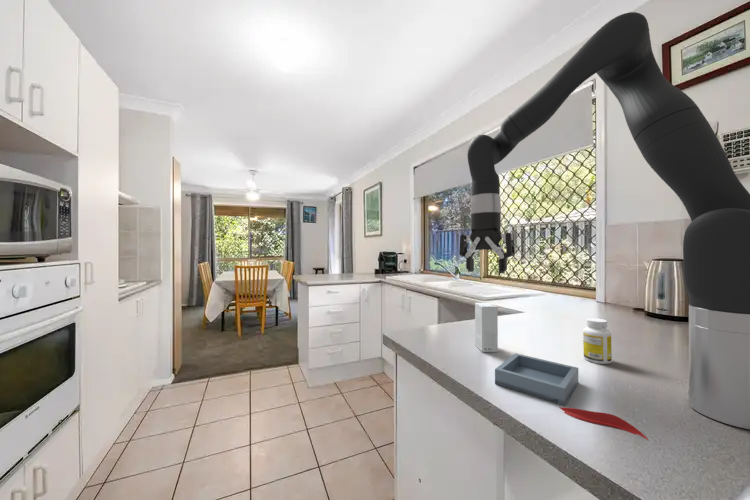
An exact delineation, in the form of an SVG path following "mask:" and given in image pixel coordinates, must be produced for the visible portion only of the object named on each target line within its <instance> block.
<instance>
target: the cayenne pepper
mask: <svg viewBox="0 0 750 500" xmlns="http://www.w3.org/2000/svg"><path fill="white" fill-rule="evenodd" d="M558 408H559V409H561V410H562V411H563V414H566V415H568V416H570V417H571V418H574V419H578V420H580V421H584V422H587V423H591V424H594V425H595V424H596V425H600V426H605V427H609V428H613V429H614V428H615V429H619V430H621V431H622V430H623V431H624V432H628V433H631V434H634V435H639V436H640V437H642V438H644V439H646V440H647V441H649V439H648V437H646V435H645V434H644V433H642V432H641V431H640V430H639V429H638V428H637V427H635V426H633V425H632V424H631V423H629V422H627V421H626V420H624V419H623V418H622V417H620V416H619V417H618V416H616V415H614V414H611V413H606V412H599V411H598V412H597V411H591V410H587V409H580V408H573V407H562V406H561V407H558Z"/></svg>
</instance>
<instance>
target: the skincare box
mask: <svg viewBox="0 0 750 500" xmlns="http://www.w3.org/2000/svg"><path fill="white" fill-rule="evenodd" d="M498 310H499V309H498V306H497V305H494V304H492V303H490V302H475V303H474V323H475V324H474V345H475V347H477V348H478V349H479V351H480V352H482V353H498V348H499V346H498V345H499V344H498V342H499V337H498V333H499V332H498V331H499V330H498V329H499V328H498V327H499V326H498V325H499V324H498V322H499V321H498V320H499V319H498V316H499V315H498V314H499V313H498Z"/></svg>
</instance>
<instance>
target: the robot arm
mask: <svg viewBox="0 0 750 500" xmlns="http://www.w3.org/2000/svg"><path fill="white" fill-rule="evenodd" d="M595 74H597V76H598V77H599V78H600V79H601V80H602V82H603V83H604V84H605V85H606V86H607V87H608V88H609V90H610V92H612V95H614V97H615V99H617V101H618V103H619V105H620V107H621V109H622V112H623V115H624V118H625V122H626V124H627V127H628V130H629V131H630V135H631V136H632V139H633V141H634V143H635V144H636V146H637V148H638V150H639V152H640V153H641V155H642V157H643V159H644V160H645V161H646V163H647V164H648V165H649V167H650V168H651V169H652V170H653V171H654V172H655V174H657V176H658V177H659V178H660V179H661V180H662V181H663V182H664V183H665V184H666V185H667V186H668V187H669V189H671V190H672V191H673V192H674V194H675V195H676V196H677V197H678V198H679V200H680V201H681V202H682V204H683V206H684V207H685V210H686V212H687V214H688V217H689V218H690V223H689V224H688V226H687V228H686V229H685V231H684V235H683V242H682V258H683V259H682V260H683V261H682V262H683V281H684V286H685V290H686V293H687V296H688V392H687V393H688V404H689V406H690V408H692V409H693V410H695V411H696V412H697V413H700V414H701V415H703V416H705V417H708V418H710V419H712V420H715V421H718V422H720V423H723V424H727V425H730V426H733V427H737V428H740V429H746V430H750V192H749V191H748V190H747V189H746V187H745V186H744V185H743V184H742V182H741V180H740V179H739V178H738V176H737V174H736V173H735V171H734V169H733V167H732V164H731V162H730V160H729V158H728V156H727V153H726V152H725V149H724V147H723V146H722V143H721V142H720V140H719V138H718V137H717V135H716V133H715V131H714V129H713V127H712V125H711V124H710V122H709V121H708V119H707V118H706V116H705V114H703V111H701V109H700V108H699V107H700V106H698V104H696V102H695V101H694V99H692V98H691V97H690V96H688V95H687V94H686V93H685V92H684V91H683V90H681V89H679V88H678V87H676V86H675V85H674V84H673V83H671V82H670V81H669V80H668V79H667V78H666V77H665V76H664V73H662V70H661V68H660V66H659V65H658V63H657V60H656V57H655V55H654V52H653V49H652V43H651V34H650V27H649V22H648V18H646V16H645V15H644V14H642V13H640V12H636V11H631V12H625V13H621V14H620V15H618V16H614V17H613V18H612V19H610V20H609V21H608V22H606V23H605V24H603V26H601V27H600V28H599V29H598V30H597V31H596V32H595V33H594V34H593V35H592V36H591V37H590V38H589V39H588V40H587V41H585V43H584V44H583V45H582V46H581V47H580V48H579V49H578V50H577V51H576V52H575V53H574V54H573V55H572V56H571V58H570V59H568V61H567V62H565V64H564V65H562V67H561V68H559V70H558V71H557V72H556V73H555V74H554V75H553V76H552V77H551V78H550V79H549V80H548V81H547V82H546V83H545V84H544V85H543V86H542V87H541V88H540V89H539V90H538V91H537V92H536V93H534V94H533V95H532V96H531V97H530V98H528V99H527V100H526V101H525V102H523V103H522V105H520V106H518V108H516V109H515V110H514V111H513V112H511V113H510V114H509V115H508V116H506V118H505V119H503V120H502V121H501V123H500V130H499V131H498V132H497V133H496V134H495V135H494V136H493V137H492V136H490V135H487V134H479V135H476V136H474V137H473V138H472V140H471V141H470V142H469V145H468V149H467V154H466V155H467V163H468V168H469V174H470V176H471V203H470V231H471V233H470V235H468V234H460V236H459V251H458V252H459V255H460V257H461V256H462V257H464V258H465V259H466V261H465V263H466V264H465V267H466V270H467V272H469V273H470V272H474V271H475V261H474V260H475V259H474V258H473V257H474V256H475V254H477V252H478V251H483V250H484V251H485V250H488V251H493V252H494V253H496V255H497V256H498V257H499V259H498V274H505V272H507V269H508V258H510V257H514V256H516V255H515V254H516V252H515V235H514V233H513V232H506V233H502V232H501V230H502V229H501V227H502V223H501V221H502V216H501V214H502V212H501V211H502V209H501V208H502V207H501V206H502V204H501V196H500V185H501V184H500V183H501V182H500V176H499V174H498V172H497V171H496V167H495V165H497V164H499V163H500V162H502V161H503V160H504V159H505V158H507V156H508V155H510V153H511V152H512V151H513V150H514V149H515V148H516V147H517V145H518V144H519V143H521V142H522V141H523V140H525V139H526V138H527V137H529V136H530V135H531V134H533V133H535V132H536V131H537V130H539V129H540V128H541V127H542V126H543V125H545V124H546V123H547V122H548V121H549V120H550V119H551V118H552V117H553V116H554V115H555V114H556V113H557V111H559V109H560V107H562V105H563V103H564V102H565V101H567V99H568V97H570V95H572V94H573V92H574V91H576V90H577V89H578V88H579V87H580V86H581V85H582V84H583V83H584V82H586V81H587V80H588V79H589V78H590V77H591V78H592V76H594V75H595ZM502 239H503V241H504V242H505V249H506V251H505V250H504V248H503V247H502V246H501V244H500V242H501V241H502ZM470 241H471V245H470V246H469V248H468V245H469V242H470Z"/></svg>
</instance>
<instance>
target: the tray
mask: <svg viewBox="0 0 750 500" xmlns="http://www.w3.org/2000/svg"><path fill="white" fill-rule="evenodd" d="M494 384H495V385H496V386H500V387H503V388H507V389H510V390H513V391H515V392H519V393H522V394H525V395H529V396H533V397H535V398H539V399H542V400H545V401H549V402H551V403H555V404H558V405H560V406H564V407H566V405H567V403H568V401H569V400H570V398H571V397H572V395H573V393H574V391H575V390H576V387H577V386H578V384H579V367H576V366H572V365H568V364H564V363H559V362H555V361H550V360H546V359H542V358H539V357H533V356H528V355H524V354H521V353H514V354H513V355H511V356H510V357H509V358H508V359H506V360H505V361H503V362H502V363H501V364H499V365H498V366H497V367H495V368H494Z"/></svg>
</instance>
